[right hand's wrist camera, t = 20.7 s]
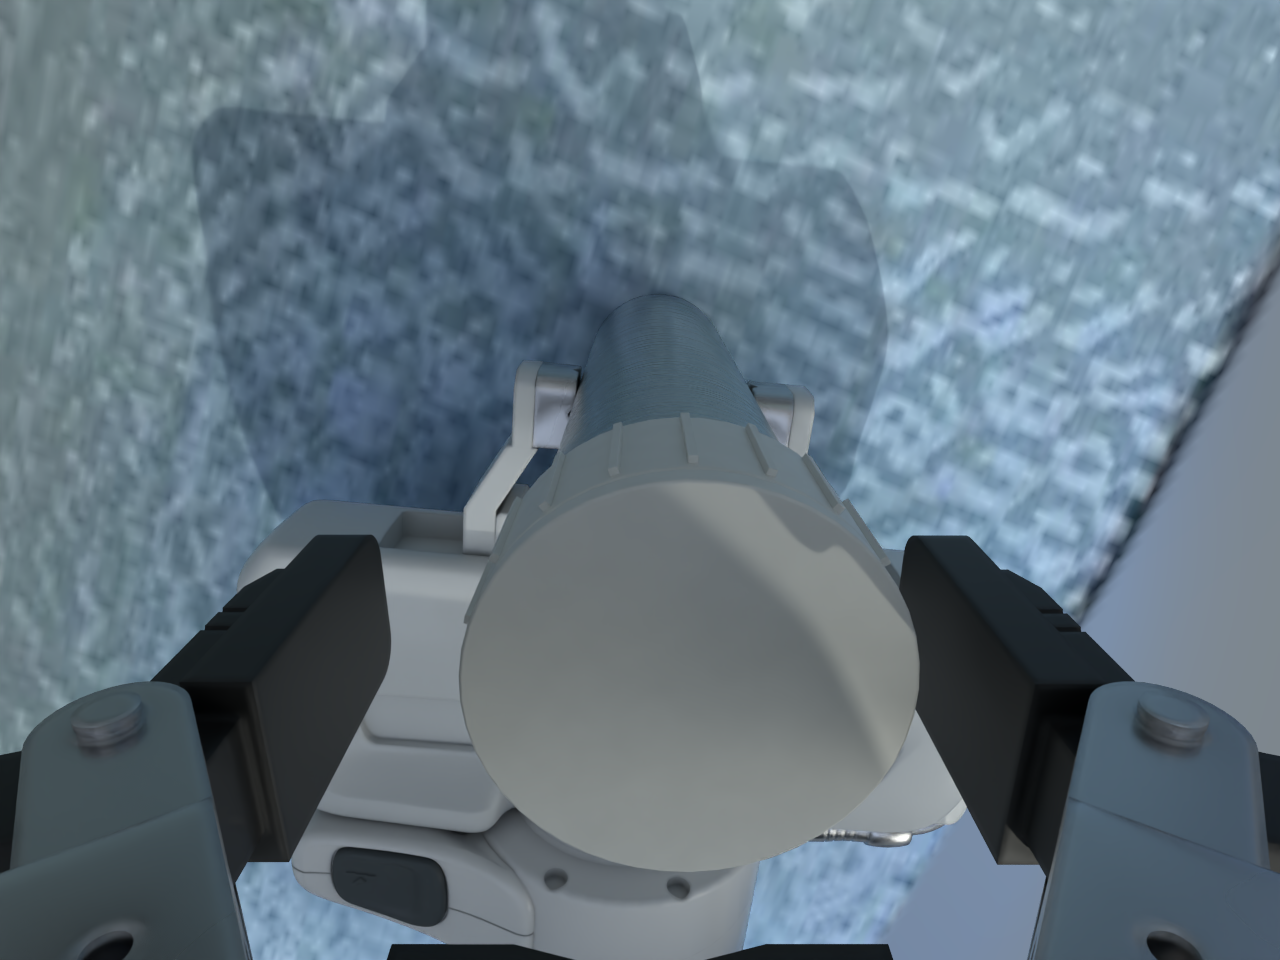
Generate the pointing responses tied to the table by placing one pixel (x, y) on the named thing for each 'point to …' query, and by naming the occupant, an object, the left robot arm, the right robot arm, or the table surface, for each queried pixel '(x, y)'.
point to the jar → (658, 372)
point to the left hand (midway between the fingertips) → (664, 377)
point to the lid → (686, 650)
